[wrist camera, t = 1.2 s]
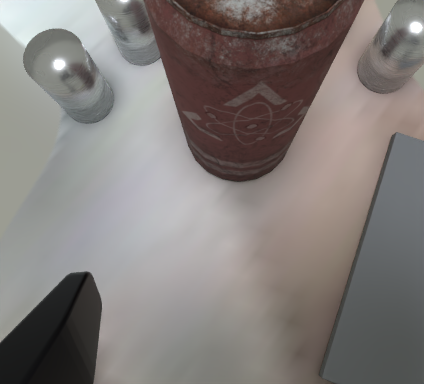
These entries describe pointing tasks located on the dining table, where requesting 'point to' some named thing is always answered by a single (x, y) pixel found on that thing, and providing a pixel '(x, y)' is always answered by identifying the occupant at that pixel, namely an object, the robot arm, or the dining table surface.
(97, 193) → the dining table surface
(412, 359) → the mat
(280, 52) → the can
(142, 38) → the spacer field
